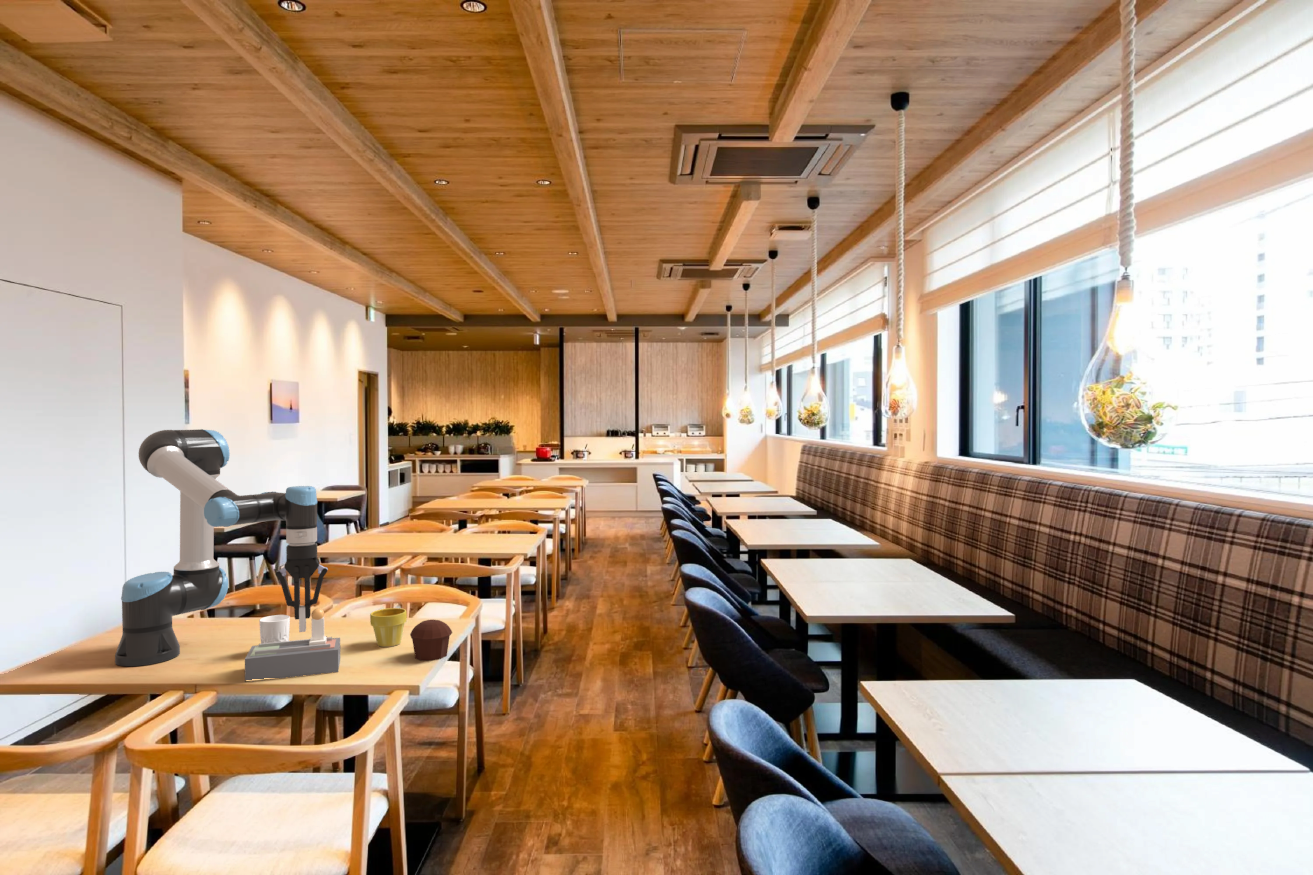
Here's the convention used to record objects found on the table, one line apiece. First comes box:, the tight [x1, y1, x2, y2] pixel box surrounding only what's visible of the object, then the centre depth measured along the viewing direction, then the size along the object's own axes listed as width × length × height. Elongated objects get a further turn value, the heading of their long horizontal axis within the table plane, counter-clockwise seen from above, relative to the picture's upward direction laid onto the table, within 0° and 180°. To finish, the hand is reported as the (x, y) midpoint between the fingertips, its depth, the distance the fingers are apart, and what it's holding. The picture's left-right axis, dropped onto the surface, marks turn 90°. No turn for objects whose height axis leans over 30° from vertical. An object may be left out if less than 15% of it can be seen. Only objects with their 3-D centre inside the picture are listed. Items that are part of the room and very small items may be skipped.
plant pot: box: [369, 607, 408, 648], centre depth 222 cm, size 10×10×10 cm
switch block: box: [244, 636, 341, 681], centre depth 198 cm, size 12×22×7 cm, turn 111°
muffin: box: [409, 619, 453, 662], centre depth 210 cm, size 12×11×10 cm
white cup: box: [259, 614, 291, 644], centre depth 214 cm, size 8×8×10 cm
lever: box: [309, 607, 327, 646], centre depth 200 cm, size 5×4×10 cm
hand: (302, 630), depth 199 cm, fingers closed
